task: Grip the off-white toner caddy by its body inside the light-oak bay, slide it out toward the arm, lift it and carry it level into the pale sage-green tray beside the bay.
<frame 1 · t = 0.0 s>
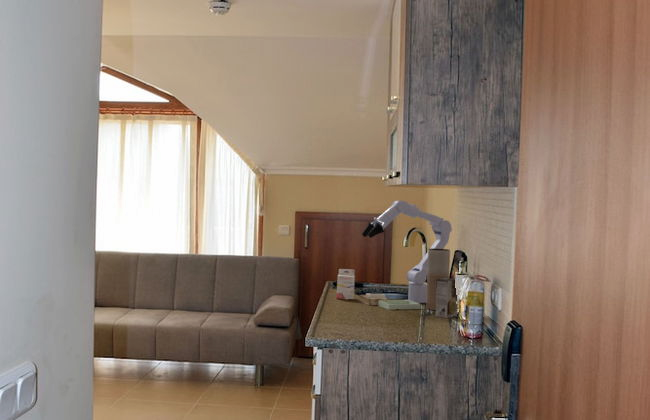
hand: (366, 235, 304), 32 cm above the worktop, tool tilted 50°, fingers open, 7 cm apart
tall taupe carton: (437, 309, 292), on the worktop
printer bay: (375, 302, 305), on the worktop
tray: (399, 307, 294), on the worktop
coffee box: (446, 316, 274), on the worktop
ink cartridge box: (345, 299, 316), on the worktop
toner caddy: (375, 303, 305), resting in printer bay
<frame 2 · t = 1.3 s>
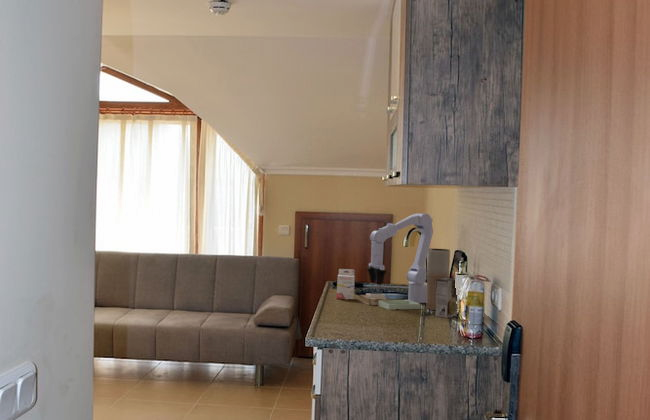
hand: (376, 283, 305), 9 cm above the worktop, tool pointing down, fingers open, 7 cm apart
nothing on the worktop moved.
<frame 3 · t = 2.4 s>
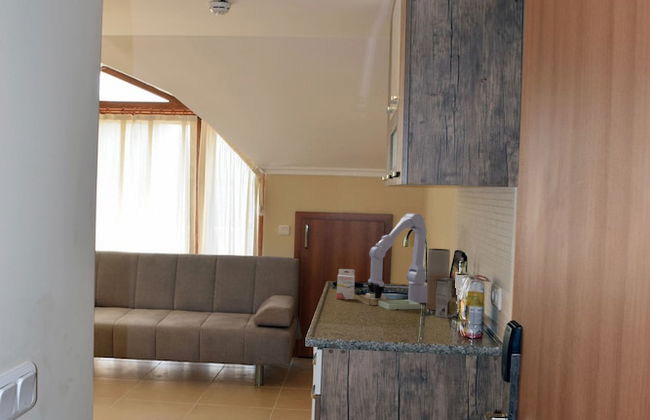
hand: (375, 299, 305), 2 cm above the worktop, tool pointing down, fingers closed on toner caddy, 5 cm apart
toner caddy: (375, 303, 305), resting in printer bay, touching gripper
everything else where it was.
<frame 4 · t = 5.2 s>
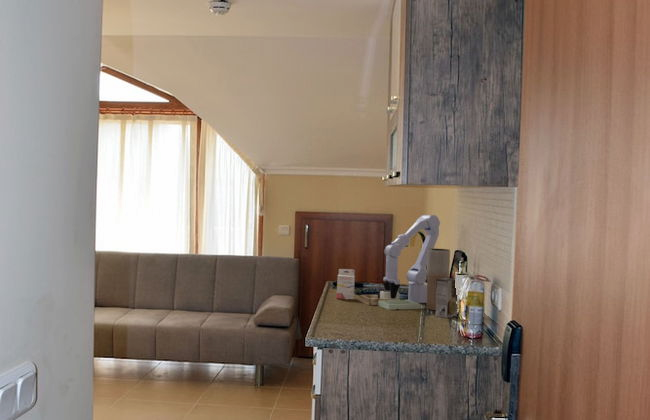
hand: (390, 297, 308), 3 cm above the worktop, tool pointing down, fingers closed on toner caddy, 5 cm apart
toner caddy: (389, 300, 308), point 1 cm above the worktop, touching gripper
everything else where it was.
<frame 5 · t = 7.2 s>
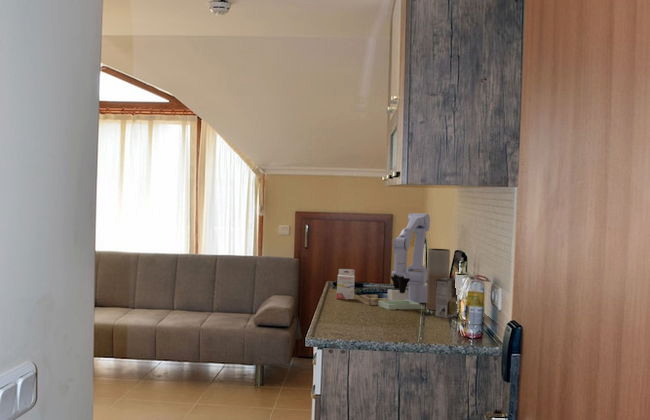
hand: (399, 292, 294), 7 cm above the worktop, tool pointing down, fingers closed on toner caddy, 5 cm apart
toner caddy: (397, 299, 294), point 4 cm above the worktop, touching gripper
everything else where it was.
when the fingers open (3 cm above the worktop, at t = 8.3 s): toner caddy stays where it is, resting on tray.
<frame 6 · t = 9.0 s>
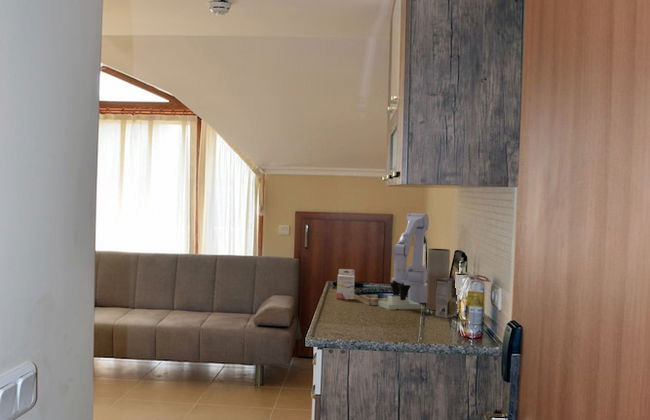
hand: (399, 298, 294), 4 cm above the worktop, tool pointing down, fingers open, 7 cm apart
toner caddy: (397, 306, 294), point 1 cm above the worktop, touching tray
everything else where it was.
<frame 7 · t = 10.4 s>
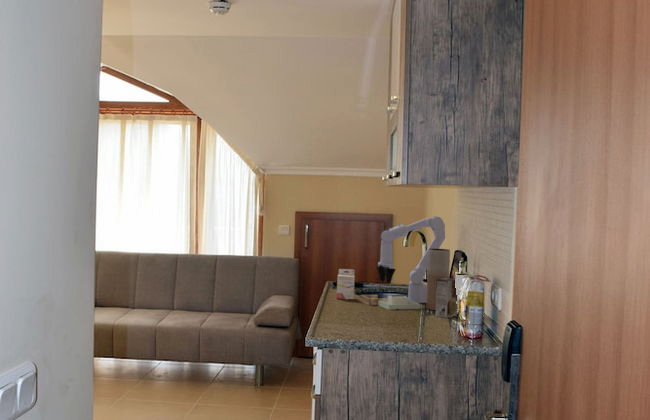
hand: (385, 281, 314), 9 cm above the worktop, tool pointing down, fingers open, 7 cm apart
nothing on the worktop moved.
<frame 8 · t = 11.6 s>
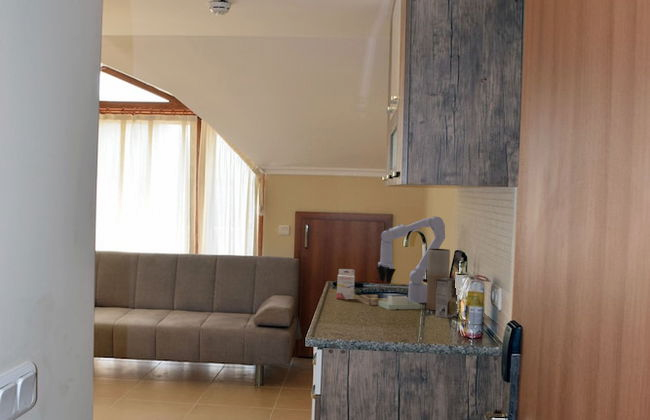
hand: (385, 281, 314), 9 cm above the worktop, tool pointing down, fingers open, 7 cm apart
nothing on the worktop moved.
at the end: toner caddy inside the target area on the tray (0.8 cm from its centre), point 0.6 cm above the tray's base; toner caddy tilted 0°; the gripper is holding nothing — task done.
